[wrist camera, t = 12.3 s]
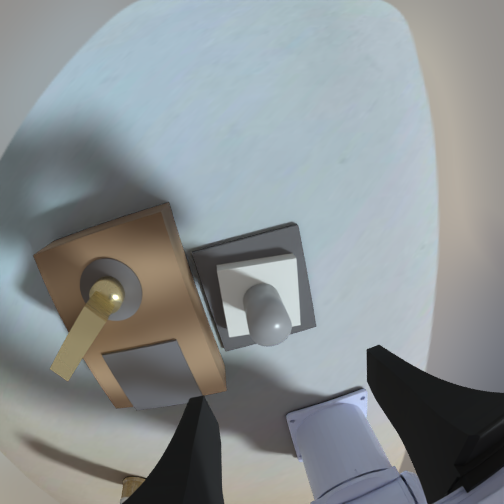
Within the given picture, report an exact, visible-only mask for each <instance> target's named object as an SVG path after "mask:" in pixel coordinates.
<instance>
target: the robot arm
mask: <svg viewBox="0 0 504 504" xmlns="http://www.w3.org/2000/svg"><path fill="white" fill-rule="evenodd" d="M367 382H368V384H369V386H370V389H371V391H372V393H373V395H374V397H375V399H376V401H377V402H378V404H379V405H380V407H381V408H382V410H383V411H384V413H385V414H386V416H387V417H388V419H389V420H390V422H391V424H392V425H393V427H394V428H395V430H396V431H397V433H398V434H399V436H400V438H401V440H402V442H403V444H404V446H405V448H406V450H407V452H408V454H409V456H410V459H411V461H412V463H413V465H414V468H415V470H416V473H417V475H418V476H417V475H416V474H415V473H413V472H408V471H403V472H402V473H400V475H399V473H398V471H397V469H396V467H395V466H393V467H392V466H391V464H390V462H389V460H388V458H387V456H386V454H385V452H384V450H383V448H382V447H381V445H380V443H379V441H378V439H377V437H376V435H375V433H374V431H373V430H372V428H371V426H370V424H369V422H368V420H367V391H366V389H361V390H358V391H355V392H353V393H350V394H347V395H344V396H342V397H339V398H336V399H333V400H330V401H327V402H324V403H321V404H317V405H314V406H311V407H308V408H304V409H301V410H298V411H294V412H291V413H288V414H287V415H286V419H287V423H288V426H289V430H290V433H291V437H292V440H293V444H294V447H295V451H296V454H297V458H298V461H300V462H303V463H304V466H305V470H306V473H307V476H308V480H309V483H310V486H311V490H312V493H313V496H314V500H315V501H312V502H311V503H310V504H504V393H496V392H487V391H480V390H475V389H471V388H467V387H462V386H459V385H456V384H453V383H450V382H447V381H444V380H441V379H439V378H437V377H434V376H432V375H430V374H428V373H426V372H424V371H422V370H420V369H418V368H417V367H415V366H413V365H411V364H409V363H408V362H406V361H404V360H403V359H401V358H399V357H398V356H396V355H395V354H393V353H391V352H390V351H388V350H387V349H385V348H383V347H382V346H380V345H377V346H374V347H372V348H369V349H367ZM122 504H224V499H223V492H222V466H221V439H220V432H219V425H218V422H217V420H216V418H215V416H214V415H213V413H212V411H211V409H210V407H209V405H208V403H207V401H206V399H205V397H204V395H203V396H198V397H192V398H190V399H189V401H188V403H187V406H186V408H185V411H184V413H183V416H182V418H181V420H180V423H179V425H178V427H177V429H176V431H175V433H174V436H173V438H172V439H171V441H170V443H169V445H168V447H167V449H166V450H165V452H164V454H163V456H162V457H161V459H160V460H159V462H158V463H157V465H156V466H155V468H154V469H153V471H152V472H151V473H150V474H149V476H148V477H147V478H146V480H145V481H144V482H143V483H142V484H141V485H140V486H139V487H138V488H137V490H136V491H135V492H134V493H133V494H132V495H131V496H130V497H129V498H128V499H126V500H125V501H124V502H123V503H122Z"/></svg>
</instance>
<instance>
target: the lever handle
mask: <svg viewBox="0 0 504 504" xmlns="http://www.w3.org/2000/svg"><path fill="white" fill-rule="evenodd" d="M89 297H90V299H89V300H88V302H87V303H86V305H85V306H84V308H83V309H82V311H81V313H80V314H79V316H78V318H77V320H76V321H75V323H74V325H73V327H72V328H71V330H70V332H69V334H68V335H67V337H66V339H65V341H64V343H63V345H62V346H61V348H60V350H59V352H58V354H57V356H56V358H55V360H54V362H53V364H52V366H51V368H50V369H51V370H52V371H54V372H55V373H56V374H58V375H59V376H61V377H62V378H63V379H65V380H66V381H69V379H70V377H71V376H72V374H73V373H74V371H75V369H76V368H77V366H78V365H79V363H80V361H81V360H82V358H83V357H84V355H85V353H86V352H87V350H88V349H89V347H90V346H91V344H92V343H93V341H94V339H95V338H96V336H97V335H98V333H99V332H100V330H101V329H102V327H103V326H104V324H105V323H106V321H107V319H108V318H109V316H110V314H112V313H115V312H117V311H118V310H119V308H120V307H121V305H122V303H123V301H124V299H125V291H124V288H123V286H122V284H121V283H120V282H119V281H118V280H116V279H115V278H113V277H109V276H104V277H101V278H99V279H98V280H97V281H96V282H95V284H94V285H93V286H92V287H91V289H90V293H89Z"/></svg>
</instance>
